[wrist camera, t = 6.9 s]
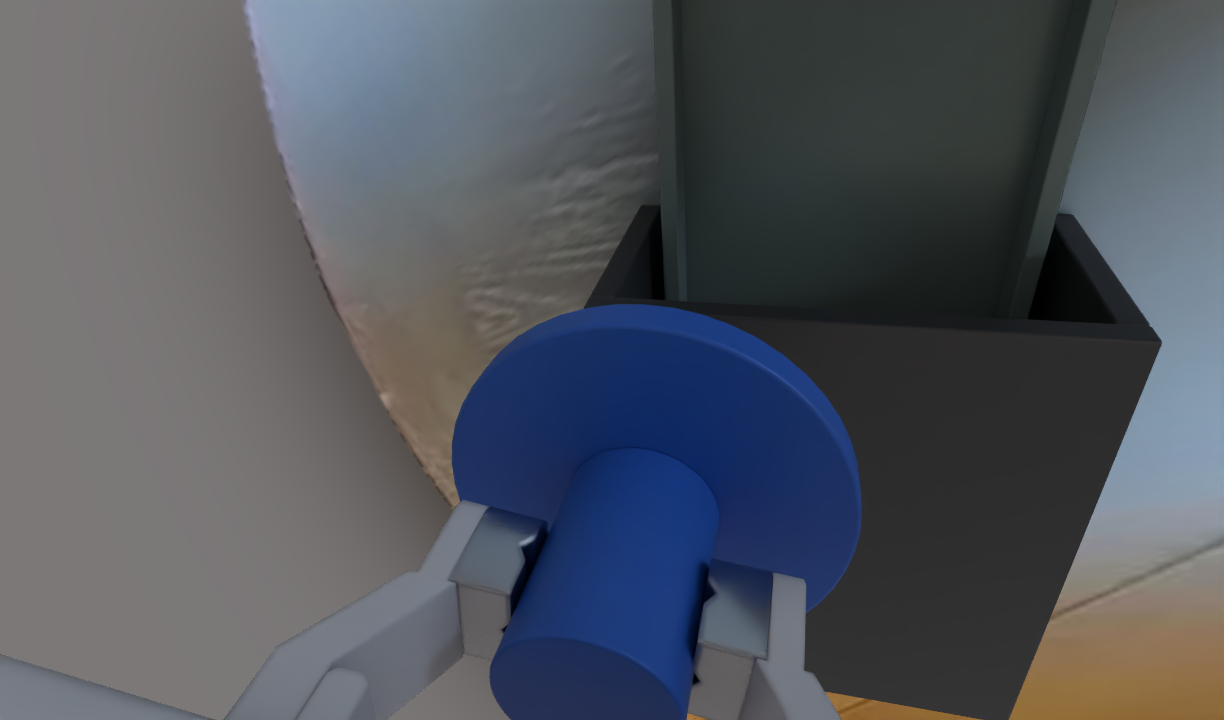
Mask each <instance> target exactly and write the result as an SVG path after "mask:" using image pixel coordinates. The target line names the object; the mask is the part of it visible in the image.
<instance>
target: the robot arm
mask: <svg viewBox="0 0 1224 720" xmlns="http://www.w3.org/2000/svg"><path fill="white" fill-rule="evenodd" d="M547 535H548V522H547V521H545V520H541V519H537V518H533V517H530V516H526V515H522V514H518V513H514V512H510V511H506V510H503V509H499V508H495V507H491V506H486V505H482V504H478V503H474V502H470V501H466V500H462V501H461V502H460V503H459V504H458V505H456V506H455V508H454V510H453V511H452V513H451V515H450V516H449V518H448V520H447V521H446V523H445V525H444V526H443V528H442V530H441V532H440V533H439V535H438V537H437V538H436V540H435V542H434V543H433V545H432V547H431V548H430V550H429V552H428V553H427V555H426V557H425V558H424V560H423V562H422V564H421V565H420V567H419V568H418V570H417V572H412V571H406V572H405V573H403V574H401V575H400V576H398V577H396V578H394V579H393V580H391V581H389V582H387V583H386V584H384V585H382V586H380V587H379V588H377V589H375V590H373V591H372V592H370V593H368V594H367V595H365V596H363V597H361V598H360V599H358V600H356V601H354V602H353V603H351V604H349V605H347V606H346V607H344V608H342V609H340V610H339V611H337V612H335V613H333V614H332V615H330V616H328V617H327V618H325V619H323V620H321V621H320V622H318V623H316V624H314V625H313V626H311V627H309V628H308V629H306V630H304V631H302V632H300V633H299V634H297V635H295V636H294V637H292V638H290V639H288V640H287V641H285V642H283V643H281V644H280V645H278V646H277V647H276V648H275V649H274V651H273V652H272V653H271V655H270V656H269V658H268V659H267V660H266V662H265V663H264V664H263V666H262V668H261V669H260V670H259V671H258V673H257V674H256V675H255V677H254V678H253V680H252V681H251V682H250V684H249V685H248V687H247V688H246V689H245V691H244V692H243V693H242V695H241V696H240V698H239V699H238V700H237V702H236V703H235V705H234V706H233V707H232V709H231V710H230V711H229V713H228V714H227V715H226V717H225V718H224V720H387V719H388V718H389V717H390V716H392V715H393V714H394V713H395V712H396V711H398V710H399V709H400V708H401V707H403V706H404V705H405V704H406V703H408V702H409V701H410V700H411V699H412V698H414V697H415V696H416V695H417V694H419V693H420V692H421V691H422V690H423V689H425V688H426V687H427V686H428V685H430V684H431V683H432V682H433V681H434V680H436V679H437V678H438V677H439V676H441V675H442V674H443V673H444V672H445V671H446V670H448V669H449V668H450V667H451V666H453V665H454V664H455V663H456V662H458V661H459V660H460V659H461V658H462V657H463V654H466V655H470V656H474V657H479V658H482V659H487V660H491V661H492V660H493V658H494V655H495V653H496V651H497V649H498V646H499V644H500V642H501V639H502V637H503V635H504V633H505V630H506V628H507V626H508V624H509V621H510V619H511V617H512V614H513V612H514V610H515V608H516V605H517V603H518V601H519V599H520V596H521V594H522V592H523V589H524V587H525V585H526V583H527V580H528V578H529V576H530V574H531V571H532V569H533V567H534V564H535V562H536V560H537V558H538V555H539V553H540V551H541V549H542V546H543V544H544V542H545V539H546V537H547ZM805 615H806V583H805V581H804V579H801V578H796V577H792V576H788V575H783V574H779V573H775V572H773V573H772V572H771V571H768V570H763V569H759V568H754V567H749V566H745V565H740V564H736V563H731V562H727V561H722V560H717V559H713V558H711V561H710V566H709V570H708V576H707V581H706V587H705V593H704V598H703V609H702V614H701V618H700V623H699V628H698V634H697V640H696V647H695V653H694V659H693V670H694V676H693V682H692V688H691V694H690V700H689V706H688V712H687V713H689V714H692V715H696V716H699V717H702V718H706V719H709V720H841V718H840V716H839V715H838V713H837V711H836V710H835V708H834V706H833V705H832V703H831V701H830V700H829V698H828V696H827V695H826V693H825V691H824V690H823V688H822V686H821V685H820V683H819V681H818V679H817V678H816V676H815V674H814V673H811V672H808V671H804V657H805ZM0 720H214V719H211V718H208V717H205V716H201V715H198V714H195V713H192V712H188V711H185V710H182V709H178V708H175V707H172V706H168V705H165V704H162V703H158V702H156V701H152V700H149V699H146V698H142V697H139V696H136V695H133V694H129V693H126V692H123V691H119V690H116V689H113V688H110V687H106V686H103V685H99V684H96V683H93V682H90V681H86V680H83V679H80V678H77V677H73V676H70V675H67V674H63V673H60V672H57V671H54V670H51V669H47V668H44V667H40V666H37V665H34V664H31V663H28V662H24V661H21V660H18V659H14V658H11V657H8V656H5V655H1V654H0Z"/></svg>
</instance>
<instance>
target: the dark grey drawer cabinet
mask: <svg viewBox="0 0 1224 720" xmlns="http://www.w3.org/2000/svg"><path fill="white" fill-rule="evenodd" d="M614 304H645V305H654V306H663V307H671V308H677V309H681V310H685V311H689V312H694V313H698V314H702V315H705V316H708V317H711V318H713V319H716V320H719V321H722V322H725V323H727V324H730V325H732V326H734V327H736V328H738V329H740V330H742V331H744V332H746V333H749V334H751V335H753V336H755V337H757V338H759V339H760V340H762V341H763V342H765V343H766V344H768V345H769V346H771V347H772V348H774V349H775V350H777V351H778V352H780V353H781V354H783V355H784V356H785V357H787V358H788V359H789V360H790V361H791V362H792V363H794V364H795V365H796V366H797V367H798V368H799V369H801V370H802V371H803V372H804V373H805V374H806V375H807V376H808V377H809V378H810V379H811V380H812V381H813V382H814V383H815V385H816V386H817V387H818V388H819V389H820V390H821V391H822V392H823V393H824V394H825V396H826V397H827V399H828V400H829V402H830V403H831V405H832V406H833V407H834V409H835V410H836V412H837V413H838V415H839V416H840V418H841V420H842V422H843V424H844V426H845V428H846V431H847V433H848V435H849V437H850V439H851V442H852V445H853V449H854V452H855V455H856V459H857V462H858V470H859V479H860V489H861V503H862V515H861V530H860V535H859V538H858V542H857V546H856V550H855V553H854V555H853V557H852V559H851V561H850V563H849V566H848V568H847V570H846V572H845V573H844V574H843V576H842V577H841V579H840V580H839V582H838V583H837V584H836V586H835V587H834V589H833V590H832V591H831V592H830V593H829V594H828V595H827V596H826V597H825V598H824V599H823V600H822V601H821V602H820V603H819V604H818V605H816V606H815V607H814V608H812V609H811V610H810V611H808V612H807V613H806V615H805V657H804V671H808V672H811V673H814V674H815V676H816V678H817V679H818V681H819V683H820V685H821V686H822V688H823V690H824V691H826V692H831V693H837V694H843V695H848V696H854V697H859V698H865V699H871V700H876V701H882V702H887V703H893V704H899V705H904V706H910V707H915V708H921V709H927V710H932V711H938V712H943V713H949V714H955V715H960V716H966V717H971V718H977V719H983V720H1009V717H1010V715H1011V713H1012V710H1013V708H1014V705H1015V703H1016V700H1017V698H1018V695H1019V693H1020V690H1021V688H1022V686H1023V683H1024V681H1025V678H1026V676H1027V673H1028V671H1029V668H1030V666H1031V663H1032V661H1033V659H1034V656H1035V654H1036V651H1037V649H1038V646H1039V644H1040V641H1041V639H1042V636H1043V634H1044V632H1045V629H1046V627H1047V624H1048V622H1049V619H1050V617H1051V614H1052V612H1053V609H1054V607H1055V605H1056V602H1057V600H1058V597H1059V595H1060V592H1061V590H1062V587H1063V585H1064V582H1065V580H1066V578H1067V575H1068V573H1069V570H1070V568H1071V565H1072V563H1073V560H1074V558H1075V555H1076V553H1077V551H1078V548H1079V546H1080V543H1081V541H1082V538H1083V536H1084V533H1085V531H1086V528H1087V526H1088V524H1089V521H1090V519H1091V516H1092V514H1093V511H1094V509H1095V506H1096V504H1097V501H1098V499H1099V497H1100V494H1101V492H1102V489H1103V487H1104V484H1105V482H1106V479H1107V477H1108V474H1109V472H1110V470H1111V467H1112V465H1113V462H1114V460H1115V457H1116V455H1117V452H1118V450H1119V447H1120V445H1121V443H1122V440H1123V438H1124V435H1125V433H1126V430H1127V428H1128V425H1129V423H1130V420H1131V418H1132V416H1133V413H1134V411H1135V408H1136V406H1137V403H1138V401H1139V398H1140V396H1141V393H1142V391H1143V389H1144V386H1145V384H1146V381H1147V379H1148V376H1149V374H1150V371H1151V369H1152V366H1153V364H1154V362H1155V359H1156V357H1157V354H1158V352H1159V349H1160V347H1161V344H1162V341H1161V339H1160V338H1159V336H1158V335H1157V334H1156V332H1155V331H1154V329H1153V328H1152V327H1150V325H1149V323H1148V321H1147V320H1146V318H1145V317H1144V315H1143V314H1142V313H1141V311H1140V310H1139V308H1138V307H1137V305H1136V304H1135V303H1134V301H1133V300H1132V298H1131V297H1130V295H1129V294H1128V293H1127V291H1126V290H1125V288H1124V287H1123V285H1122V284H1121V283H1120V281H1119V280H1118V278H1117V277H1116V275H1115V274H1114V273H1113V271H1112V270H1111V268H1110V267H1109V265H1108V264H1107V263H1106V261H1105V260H1104V258H1103V257H1102V255H1101V254H1100V253H1099V251H1098V250H1097V248H1096V247H1095V245H1094V244H1093V243H1092V241H1091V240H1090V238H1089V237H1088V235H1087V234H1086V233H1085V231H1084V230H1083V228H1082V227H1081V225H1080V224H1079V223H1078V221H1077V220H1076V218H1075V217H1074V215H1071V214H1057V216H1056V220H1055V223H1054V227H1053V230H1052V234H1051V237H1050V241H1049V245H1048V248H1047V252H1046V255H1045V259H1044V262H1043V266H1042V270H1041V273H1040V277H1039V280H1038V284H1037V287H1036V291H1035V295H1034V298H1033V302H1032V305H1031V309H1030V312H1029V316H1028V320H1027V319H1008V318H990V317H971V316H952V315H933V314H915V313H896V312H877V311H858V310H840V309H821V308H802V307H783V306H764V305H746V304H727V303H708V302H689V301H671V300H665V298H664V273H663V249H662V224H661V207H660V206H646V205H642V206H641V207H640V208H639V210H638V212H637V214H636V215H635V217H634V219H633V221H632V223H631V224H630V226H629V228H628V230H627V232H626V233H625V235H624V237H623V239H622V240H621V242H620V244H619V246H618V248H617V249H616V251H615V253H614V255H613V257H612V258H611V260H610V262H609V264H608V265H607V267H606V269H605V271H604V273H603V274H602V276H601V278H600V280H599V281H598V283H597V285H596V287H595V289H594V290H593V292H592V294H591V297H590V298H589V299H588V301H587V303H586V305H585V306H584V309H585V308H591V307H599V306H607V305H614Z"/></svg>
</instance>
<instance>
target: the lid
mask: <svg viewBox="0 0 1224 720" xmlns="http://www.w3.org/2000/svg"><path fill="white" fill-rule="evenodd" d="M452 467H453V474H454V480H455V485H456V488H457V492H458V495H459V498H460V502H461V501H462V500H466V501H470V502H474V503H478V504H482V505H486V506H491V507H495V508H499V509H503V510H506V511H510V512H514V513H518V514H522V515H526V516H530V517H533V518H537V519H541V520H545V521H547V522H548V535H547V537H546V539H545V542H544V544H543V546H542V549H541V551H540V553H539V555H538V558H537V560H536V562H535V564H534V567H533V569H532V571H531V574H530V576H529V578H528V580H527V583H526V585H525V587H524V589H523V592H522V594H521V596H520V599H519V601H518V603H517V605H516V608H515V610H514V612H513V614H512V617H511V619H510V621H509V624H508V626H507V628H506V630H505V633H504V635H503V637H502V639H501V642H500V644H499V646H498V649H497V651H496V653H495V655H494V658H493V660H492V663H491V666H490V685H491V689H492V692H493V695H494V697H495V699H496V701H497V703H498V704H499V706H500V707H501V709H502V710H503V711H504V713H505V714H506V715H507V716H508V717H509V718H510V719H511V720H686V718H687V712H688V706H689V700H690V694H691V688H692V682H693V676H694V670H693V659H694V653H695V647H696V640H697V634H698V628H699V623H700V618H701V614H702V609H703V598H704V593H705V587H706V581H707V576H708V570H709V566H710V561H711V558H713V559H717V560H722V561H727V562H731V563H736V564H740V565H745V566H749V567H754V568H759V569H763V570H768V571H771V572H772V573H773V572H775V573H779V574H783V575H788V576H792V577H796V578H801V579H804V581H805V583H806V613H807V612H808V611H810V610H811V609H812V608H814V607H815V606H816V605H818V604H819V603H820V602H821V601H822V600H823V599H824V598H825V597H826V596H827V595H828V594H829V593H830V592H831V591H832V590H833V589H834V587H835V586H836V584H837V583H838V582H839V580H840V579H841V577H842V576H843V574H844V573H845V572H846V570H847V568H848V566H849V563H850V561H851V559H852V557H853V555H854V553H855V550H856V546H857V542H858V538H859V535H860V530H861V515H862V503H861V489H860V479H859V470H858V462H857V459H856V455H855V452H854V449H853V445H852V442H851V439H850V437H849V435H848V433H847V431H846V428H845V426H844V424H843V422H842V420H841V418H840V416H839V415H838V413H837V412H836V410H835V409H834V407H833V406H832V405H831V403H830V402H829V400H828V399H827V397H826V396H825V394H824V393H823V392H822V391H821V390H820V389H819V388H818V387H817V386H816V385H815V383H814V382H813V381H812V380H811V379H810V378H809V377H808V376H807V375H806V374H805V373H804V372H803V371H802V370H801V369H799V368H798V367H797V366H796V365H795V364H794V363H792V362H791V361H790V360H789V359H788V358H787V357H785V356H784V355H783V354H781V353H780V352H778V351H777V350H775V349H774V348H772V347H771V346H769V345H768V344H766V343H765V342H763V341H762V340H760V339H759V338H757V337H755V336H753V335H751V334H749V333H746V332H744V331H742V330H740V329H738V328H736V327H734V326H732V325H730V324H727V323H725V322H722V321H719V320H716V319H713V318H711V317H708V316H705V315H702V314H698V313H694V312H689V311H685V310H681V309H677V308H671V307H663V306H654V305H645V304H614V305H607V306H599V307H591V308H585V309H581V310H578V311H574V312H570V313H566V314H563V315H559V316H557V317H555V318H552V319H550V320H547V321H545V322H543V323H540V324H538V325H536V326H534V327H533V328H531V329H529V330H528V331H526V332H525V333H523V334H521V335H520V336H518V337H516V338H515V339H514V340H513V341H512V342H511V343H509V344H508V345H507V346H506V347H505V348H504V349H502V350H501V351H500V352H499V353H498V354H497V356H496V357H495V358H494V359H493V360H492V362H491V363H490V364H489V365H488V366H487V367H486V369H485V370H484V372H483V373H482V374H481V376H480V377H479V378H478V380H477V381H476V382H475V384H474V385H473V387H472V388H471V390H470V392H469V393H468V395H467V397H466V399H465V400H464V402H463V404H462V407H461V409H460V412H459V415H458V418H457V420H456V424H455V429H454V435H453V441H452Z"/></svg>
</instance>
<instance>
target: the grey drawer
mask: <svg viewBox="0 0 1224 720" xmlns="http://www.w3.org/2000/svg"><path fill="white" fill-rule="evenodd" d="M652 1H653V26H654V51H655V76H656V100H657V125H658V150H659V174H660V199H661V224H662V249H663V273H664V298H665V300H671V301H689V302H708V303H727V304H746V305H764V306H783V307H802V308H821V309H840V310H858V311H877V312H896V313H915V314H933V315H952V316H971V317H990V318H1008V319H1027V320H1028V316H1029V312H1030V309H1031V305H1032V302H1033V298H1034V295H1035V291H1036V287H1037V284H1038V280H1039V277H1040V273H1041V270H1042V266H1043V262H1044V259H1045V255H1046V252H1047V248H1048V245H1049V241H1050V237H1051V234H1052V230H1053V227H1054V223H1055V220H1056V216H1057V212H1058V209H1059V205H1060V202H1061V198H1062V195H1063V191H1064V187H1065V184H1066V180H1067V177H1068V173H1069V170H1070V166H1071V162H1072V159H1073V155H1074V152H1075V148H1076V145H1077V141H1078V137H1079V134H1080V130H1081V127H1082V123H1083V119H1084V116H1085V112H1086V109H1087V105H1088V102H1089V98H1090V94H1091V91H1092V87H1093V84H1094V80H1095V77H1096V73H1097V69H1098V66H1099V62H1100V59H1101V55H1102V52H1103V48H1104V44H1105V41H1106V37H1107V34H1108V30H1109V27H1110V23H1111V19H1112V16H1113V12H1114V9H1115V5H1116V2H1117V0H652Z"/></svg>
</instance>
